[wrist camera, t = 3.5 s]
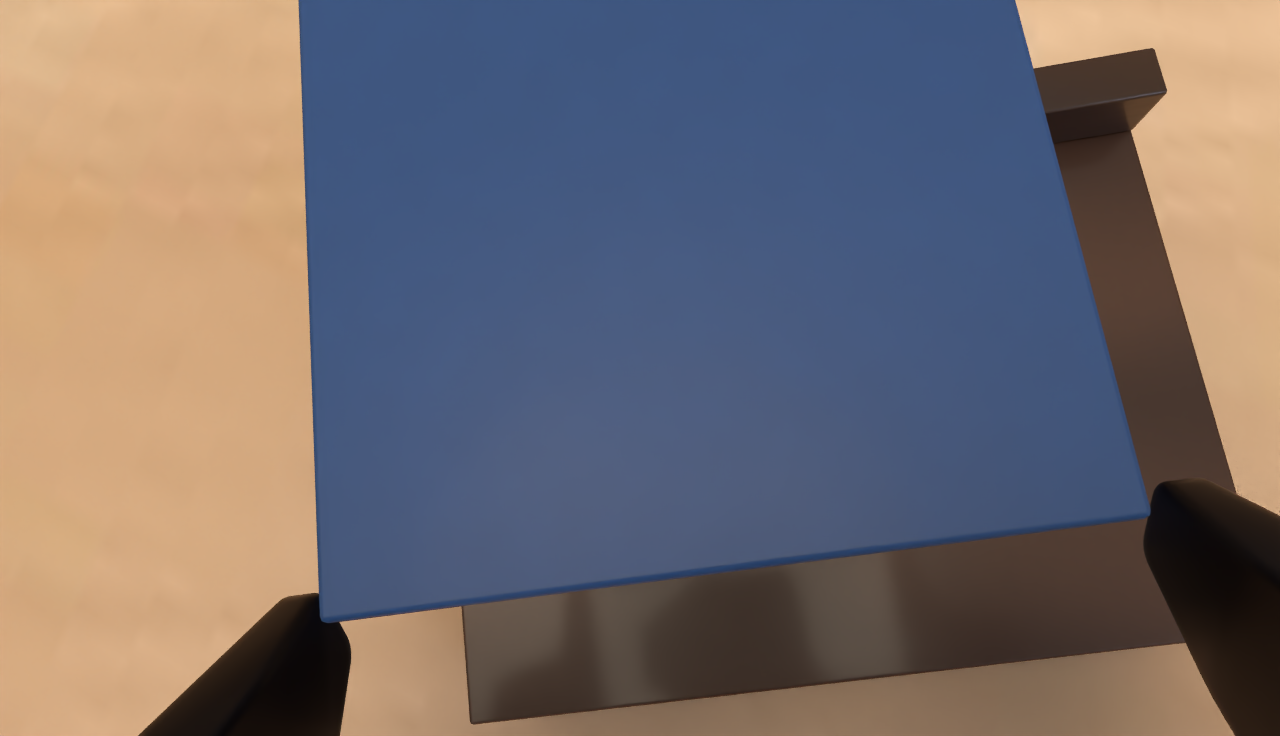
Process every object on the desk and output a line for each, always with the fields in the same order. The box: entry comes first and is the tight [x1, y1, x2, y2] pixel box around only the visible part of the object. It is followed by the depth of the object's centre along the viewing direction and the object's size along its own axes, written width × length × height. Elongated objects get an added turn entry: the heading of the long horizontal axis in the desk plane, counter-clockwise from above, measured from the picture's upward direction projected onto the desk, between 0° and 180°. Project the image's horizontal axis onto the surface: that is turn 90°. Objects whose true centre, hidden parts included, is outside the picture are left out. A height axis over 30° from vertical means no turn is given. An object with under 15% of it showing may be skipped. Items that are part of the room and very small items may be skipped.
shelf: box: [462, 48, 1236, 725], centre depth 18 cm, size 11×15×6 cm
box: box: [299, 0, 1151, 623], centre depth 11 cm, size 6×6×11 cm
